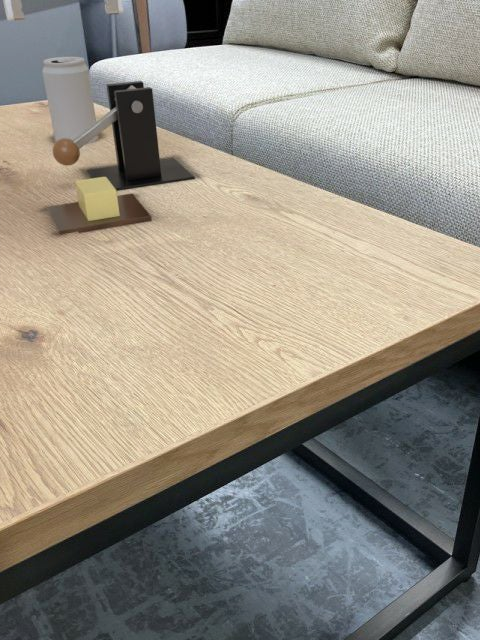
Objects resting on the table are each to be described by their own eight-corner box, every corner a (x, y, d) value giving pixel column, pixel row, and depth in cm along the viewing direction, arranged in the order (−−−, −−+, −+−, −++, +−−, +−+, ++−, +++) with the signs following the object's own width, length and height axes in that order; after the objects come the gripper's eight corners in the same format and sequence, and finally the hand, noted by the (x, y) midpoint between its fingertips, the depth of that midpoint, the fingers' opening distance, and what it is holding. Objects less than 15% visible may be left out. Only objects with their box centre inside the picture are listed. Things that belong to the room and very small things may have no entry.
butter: (88, 221, 76) (83, 194, 74) (79, 206, 80) (74, 180, 78) (120, 216, 77) (116, 189, 76) (109, 201, 81) (105, 176, 79)
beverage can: (49, 144, 106) (32, 58, 99) (87, 136, 110) (74, 53, 103) (67, 153, 102) (52, 65, 95) (107, 145, 105) (94, 59, 99)
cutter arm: (67, 174, 85) (49, 152, 83) (62, 166, 88) (44, 146, 86) (151, 108, 86) (135, 86, 83) (144, 103, 88) (128, 81, 86)
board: (61, 244, 75) (58, 230, 74) (49, 219, 81) (46, 206, 80) (152, 228, 78) (150, 215, 77) (133, 205, 84) (132, 193, 83)
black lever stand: (102, 200, 86) (86, 99, 79) (87, 178, 93) (71, 84, 86) (195, 185, 90) (188, 88, 83) (174, 166, 97) (165, 75, 90)
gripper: (145, -158, 66) (161, 7, 74) (-91, -163, 59) (-47, 19, 67) (165, -164, 61) (179, 13, 69) (-90, -170, 54) (-43, 28, 62)
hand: (66, 16), depth 68 cm, fingers open, 8 cm apart
